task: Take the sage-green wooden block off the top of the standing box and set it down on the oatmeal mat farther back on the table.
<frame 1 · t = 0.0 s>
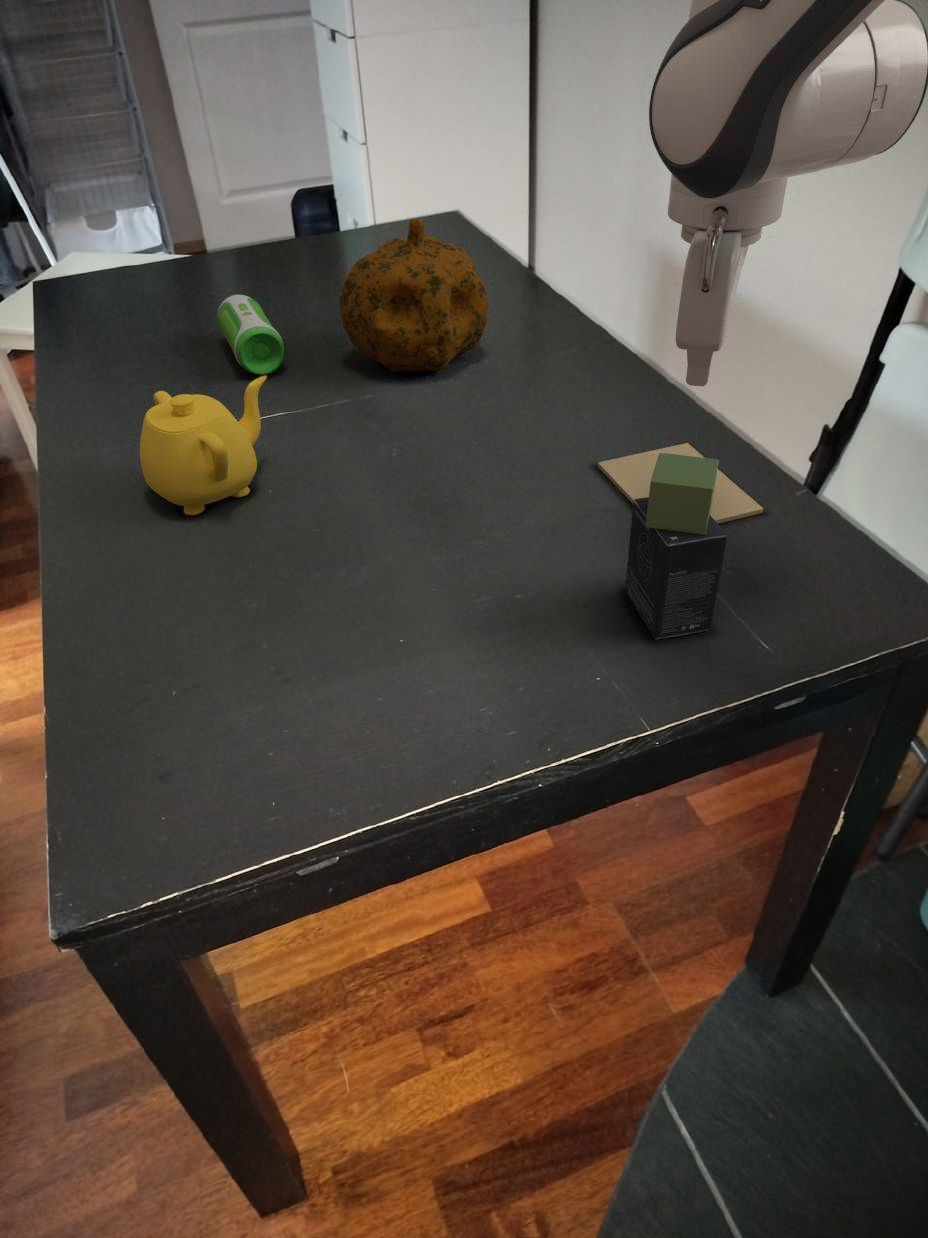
hand: (703, 360, 77), 20 cm above the table, tool pointing down, fingers open, 8 cm apart
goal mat: (676, 488, 97), on the table
decorative pumpkin: (417, 359, 129), on the table
box: (665, 611, 81), on the table, touching green block
teapot: (222, 486, 103), on the table
speaker: (255, 358, 132), on the table
green block: (679, 515, 74), point 11 cm above the table, touching box
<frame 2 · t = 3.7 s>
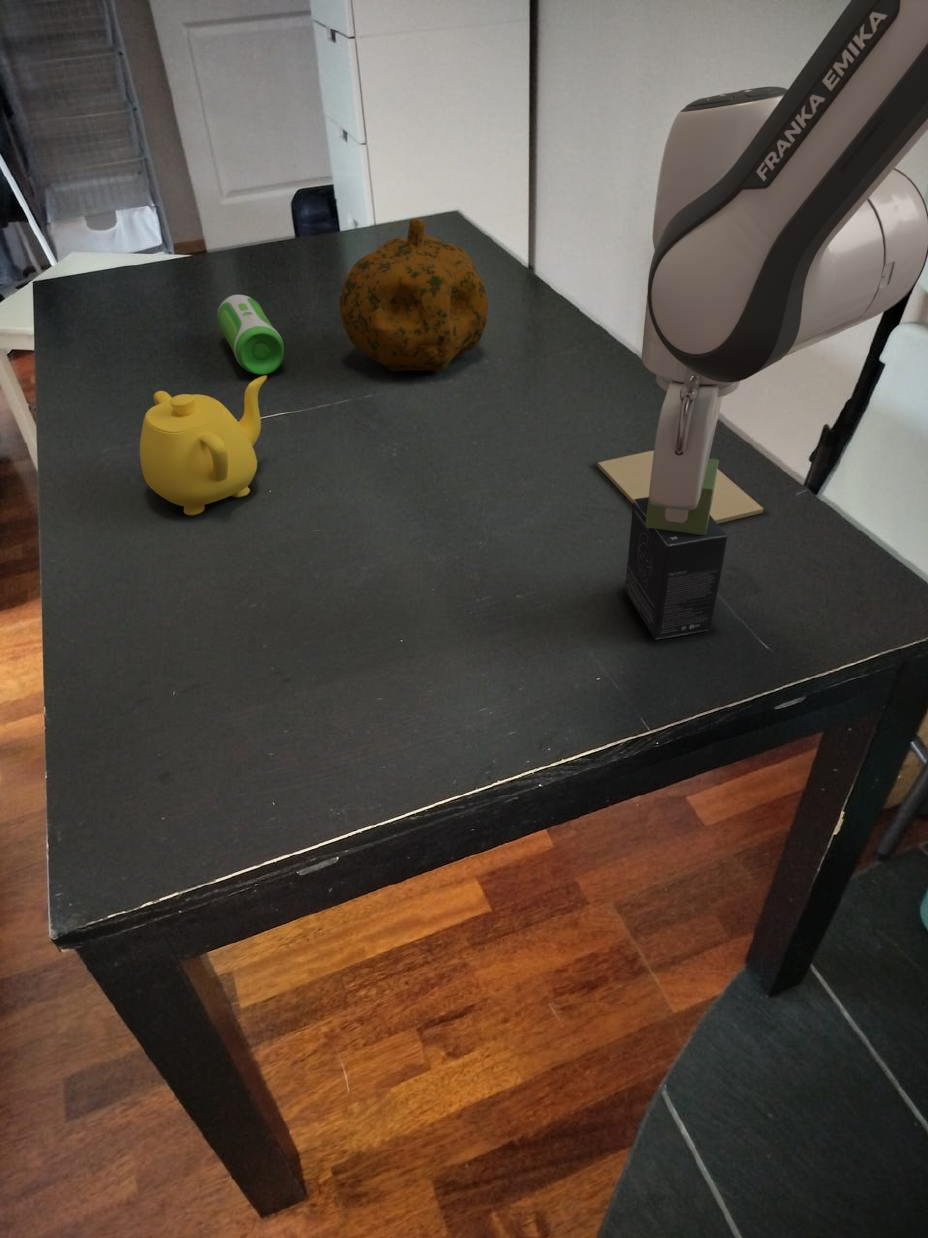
hand: (681, 497, 73), 12 cm above the table, tool pointing down, fingers closed on green block, 5 cm apart
green block: (679, 515, 74), point 11 cm above the table, touching box, gripper
everything else where it was.
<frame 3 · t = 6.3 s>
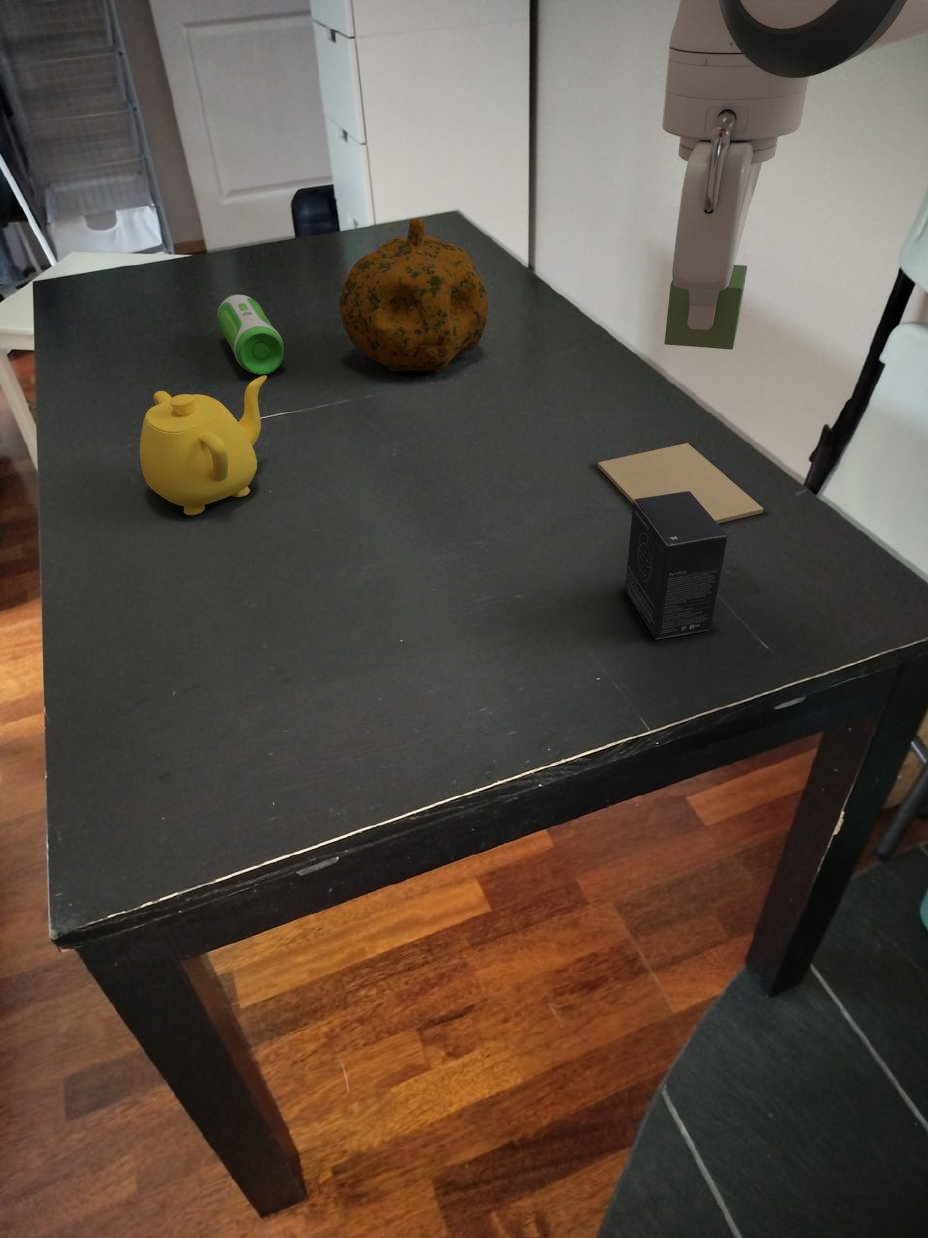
hand: (705, 310, 64), 28 cm above the table, tool pointing down, fingers closed on green block, 5 cm apart
box: (665, 611, 81), on the table
green block: (701, 334, 66), point 26 cm above the table, touching gripper
everything else where it was.
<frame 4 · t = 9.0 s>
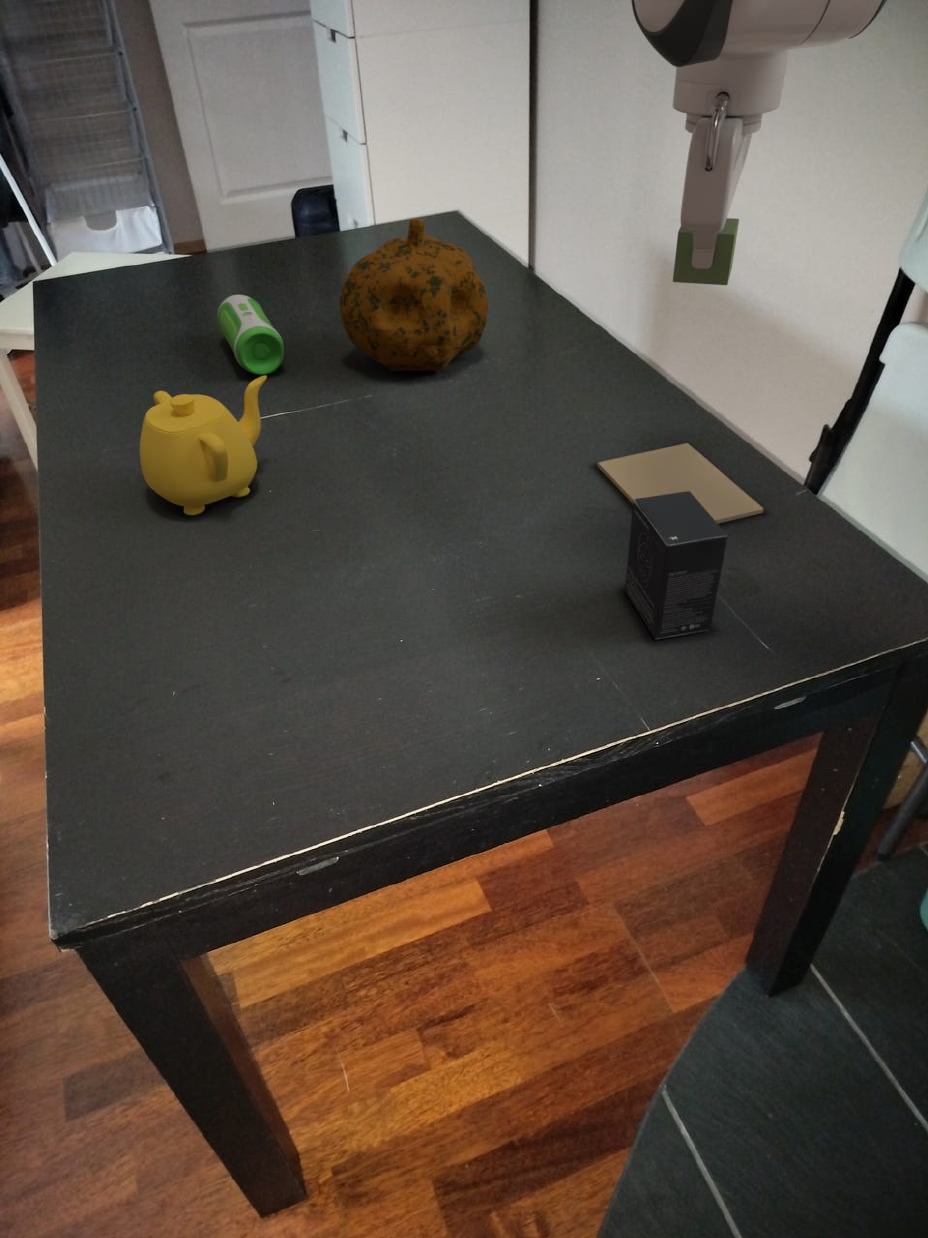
hand: (705, 254, 81), 26 cm above the table, tool pointing down, fingers closed on green block, 5 cm apart
green block: (702, 274, 82), point 24 cm above the table, touching gripper
everything else where it was.
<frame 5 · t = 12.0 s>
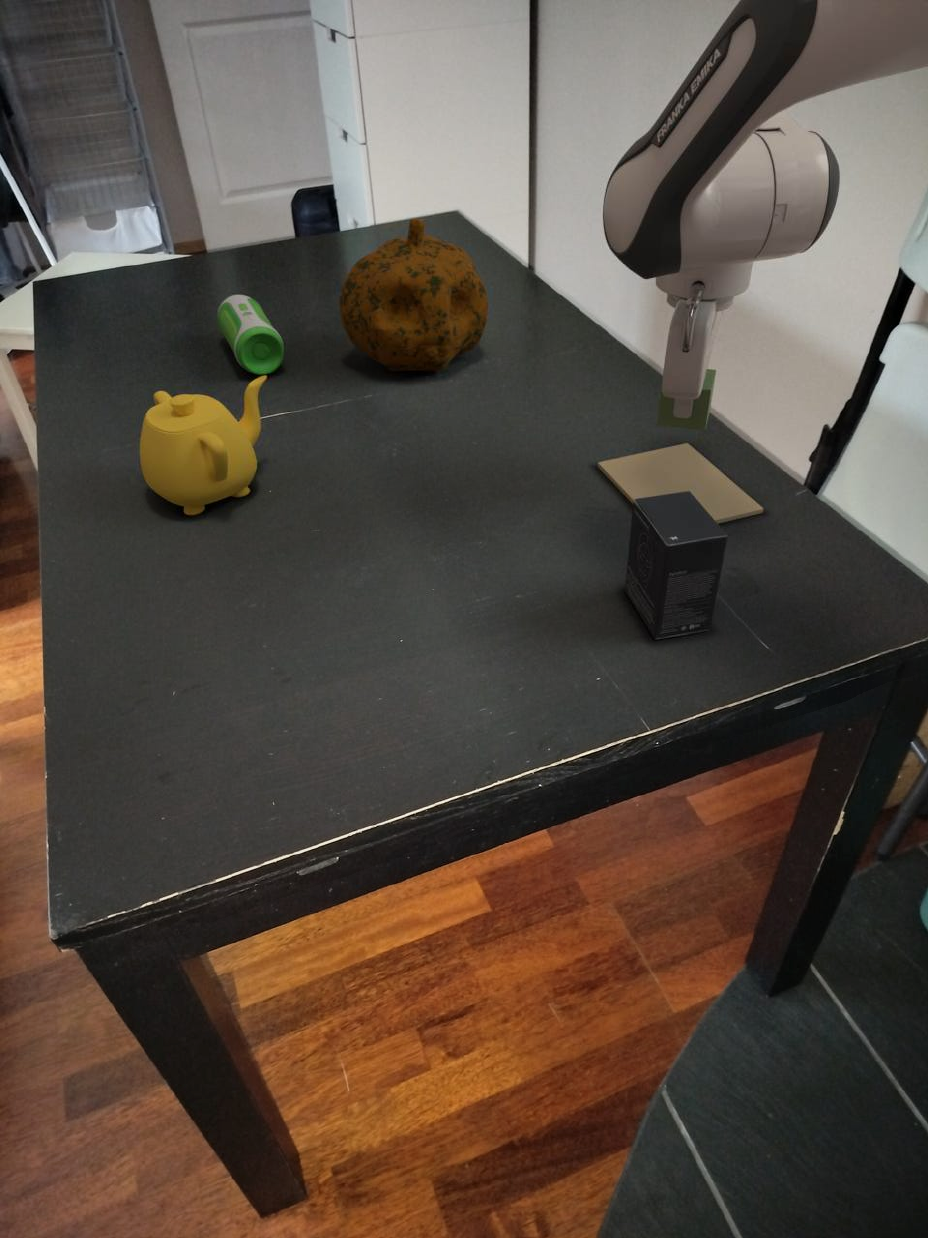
hand: (686, 401, 91), 11 cm above the table, tool pointing down, fingers closed on green block, 5 cm apart
green block: (683, 417, 92), point 9 cm above the table, touching gripper
everything else where it was.
when the fingers open (2 cm above the table, at t = 14.4 s): green block stays where it is, resting on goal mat.
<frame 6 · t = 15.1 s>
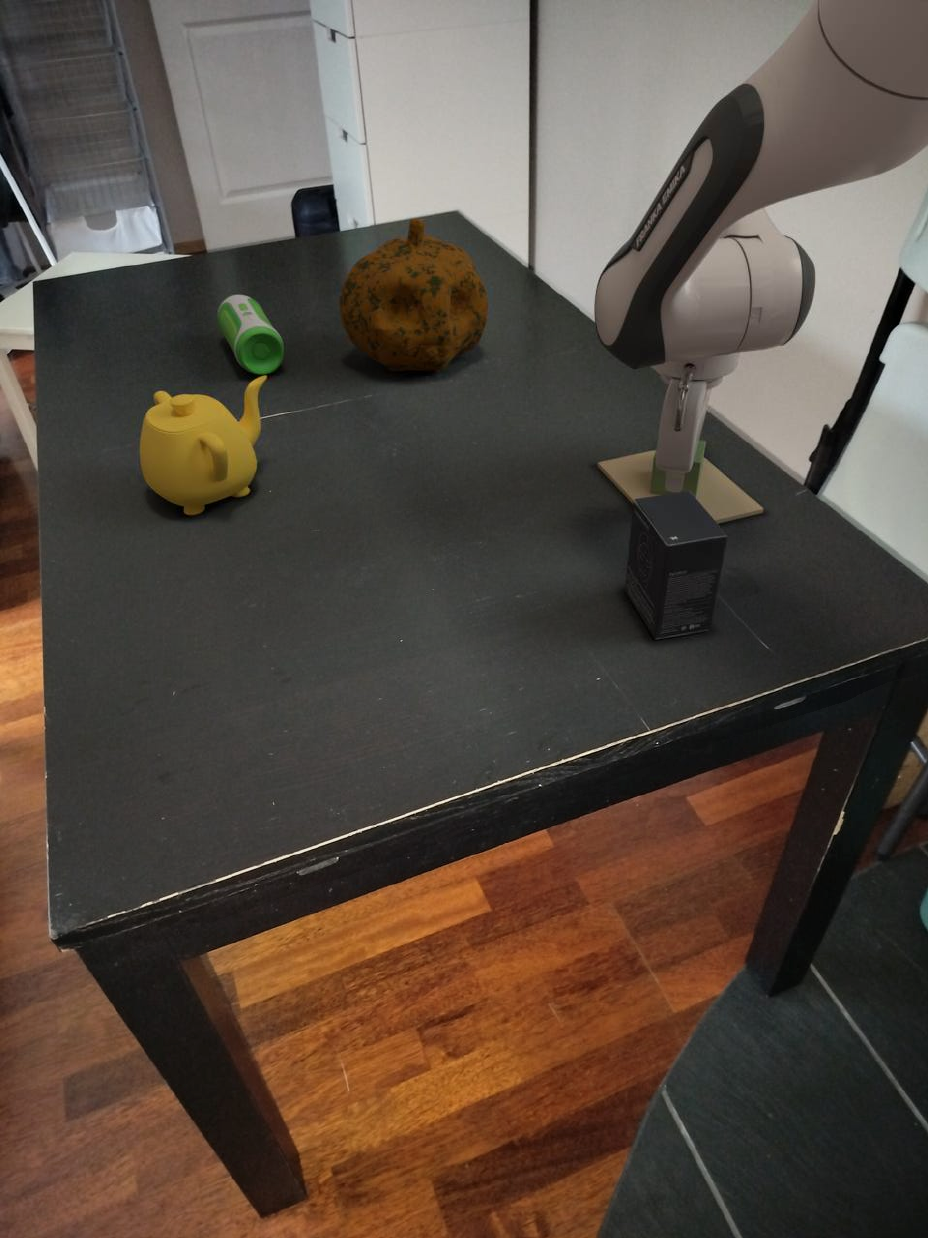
hand: (679, 466, 96), 3 cm above the table, tool pointing down, fingers open, 8 cm apart
green block: (675, 484, 97), point 1 cm above the table, touching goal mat
everything else where it was.
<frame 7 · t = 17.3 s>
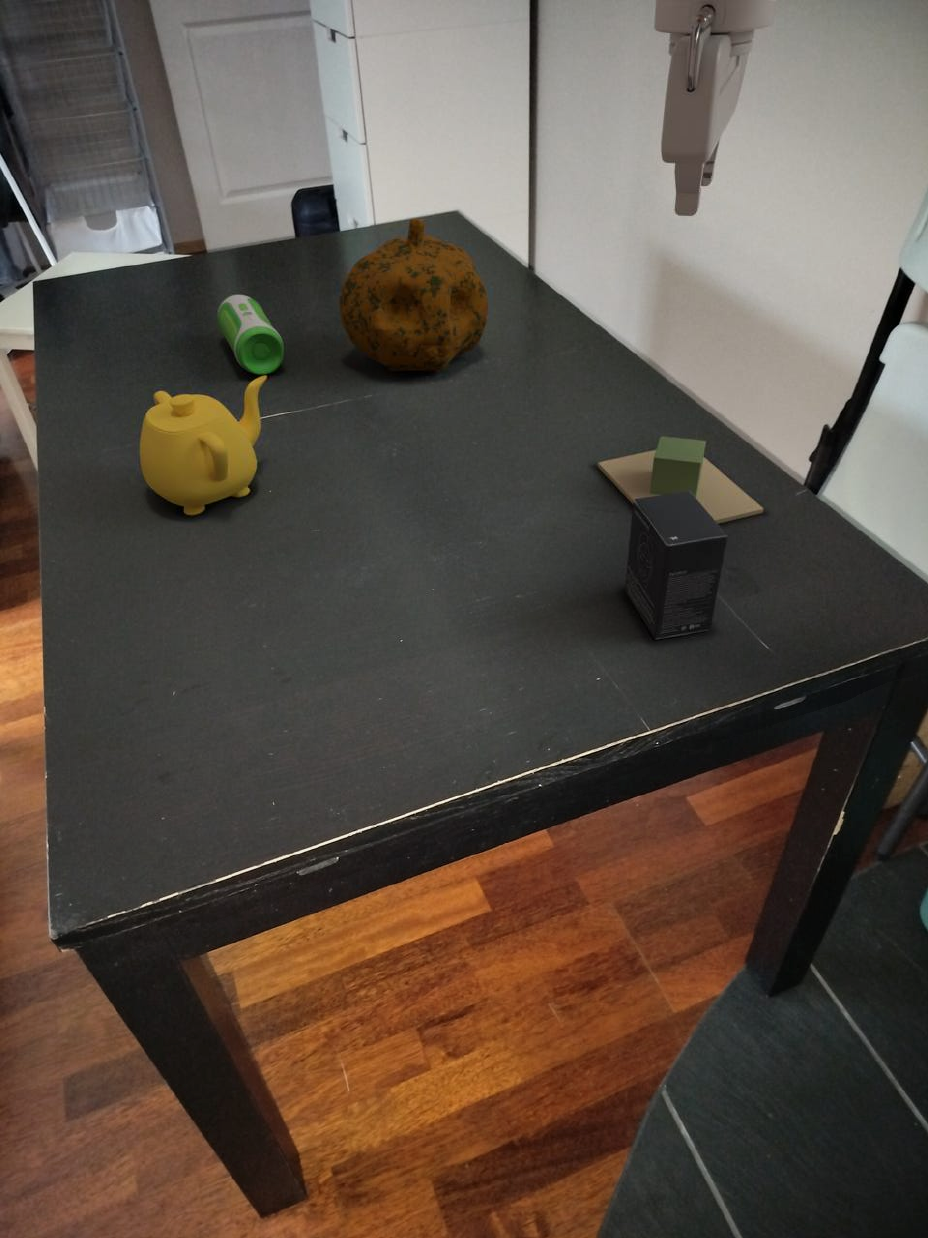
hand: (694, 198, 73), 32 cm above the table, tool pointing down, fingers open, 8 cm apart
nothing on the table moved.
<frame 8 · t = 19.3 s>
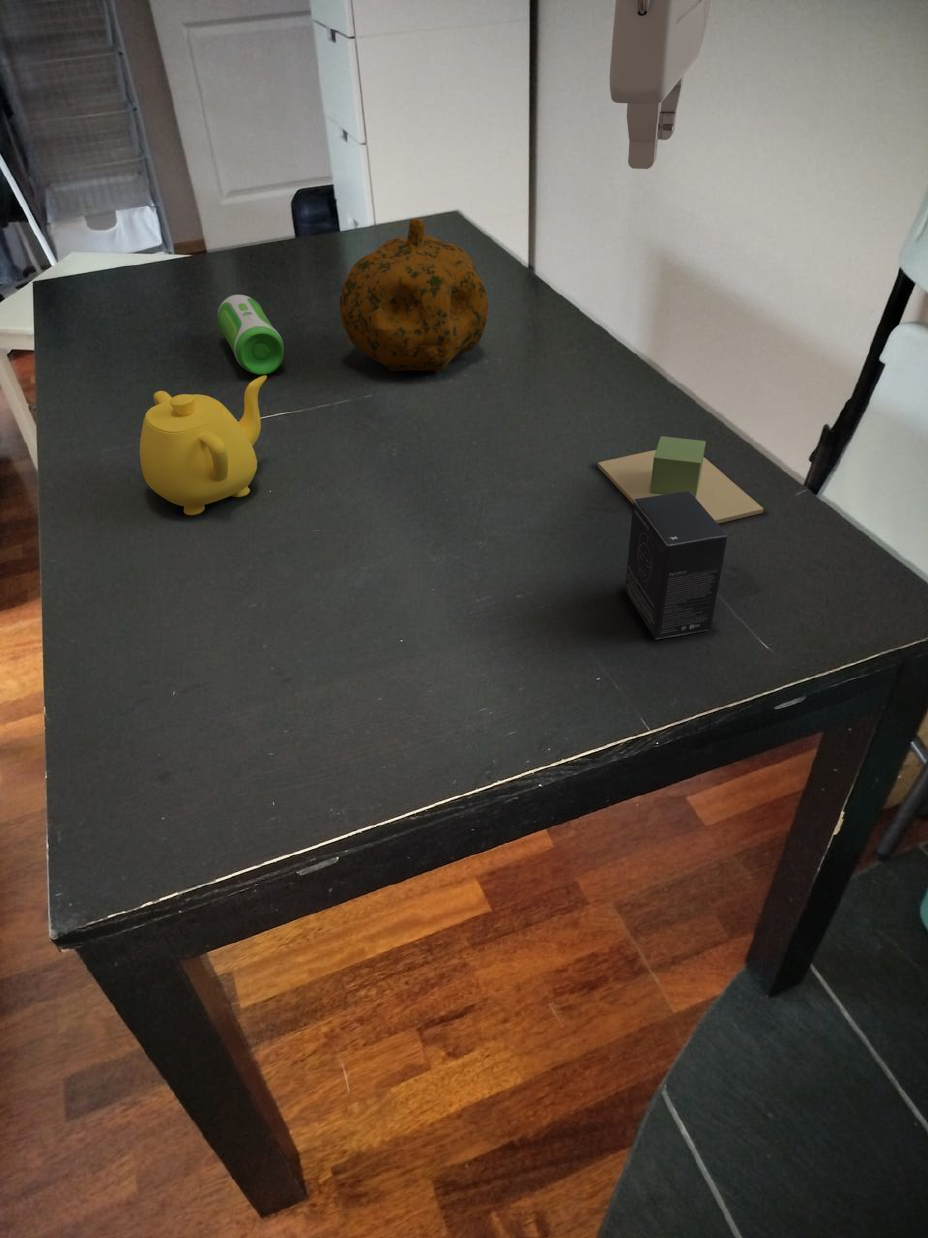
hand: (652, 151, 65), 37 cm above the table, tool pointing down, fingers open, 8 cm apart
nothing on the table moved.
at the end: green block inside the target area on the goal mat (0.1 cm from its centre), point 0.6 cm above the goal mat's base; green block touching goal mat; box tilted 0° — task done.
